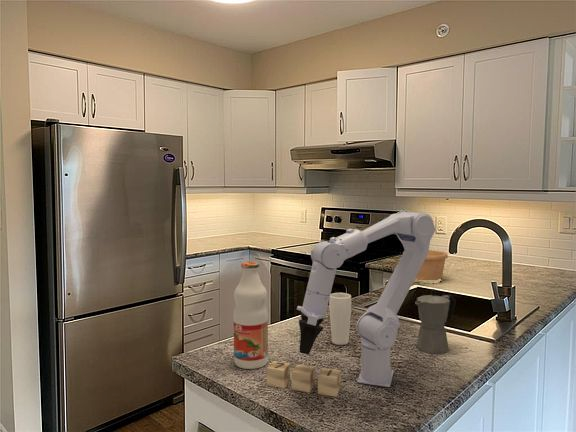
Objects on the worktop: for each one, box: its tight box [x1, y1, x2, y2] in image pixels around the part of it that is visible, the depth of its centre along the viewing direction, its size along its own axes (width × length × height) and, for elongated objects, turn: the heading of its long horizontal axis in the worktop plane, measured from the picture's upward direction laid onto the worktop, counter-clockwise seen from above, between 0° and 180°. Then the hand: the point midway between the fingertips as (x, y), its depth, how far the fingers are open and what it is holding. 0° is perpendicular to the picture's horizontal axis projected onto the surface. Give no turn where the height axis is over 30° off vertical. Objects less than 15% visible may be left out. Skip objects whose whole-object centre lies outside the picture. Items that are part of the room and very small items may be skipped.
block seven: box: [266, 360, 291, 389], centre depth 108 cm, size 4×4×5 cm
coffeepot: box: [414, 288, 457, 355], centre depth 130 cm, size 15×9×18 cm, turn 115°
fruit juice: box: [233, 261, 269, 370], centre depth 119 cm, size 9×9×28 cm
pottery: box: [402, 249, 449, 280], centre depth 222 cm, size 22×22×14 cm
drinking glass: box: [328, 292, 352, 346], centre depth 135 cm, size 7×7×15 cm
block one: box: [317, 367, 342, 397], centre depth 104 cm, size 4×4×5 cm
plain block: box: [291, 364, 316, 393], centre depth 106 cm, size 4×4×4 cm
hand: (304, 348), depth 102 cm, fingers open, 7 cm apart
